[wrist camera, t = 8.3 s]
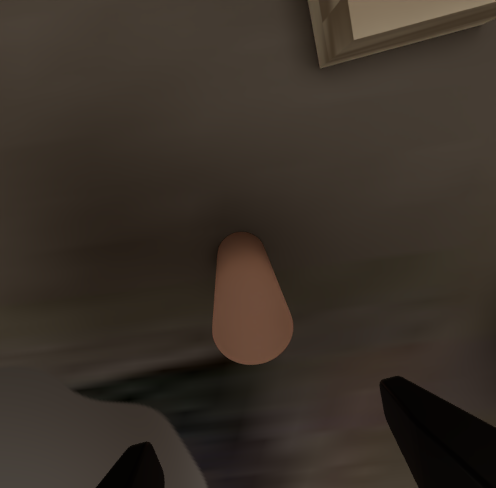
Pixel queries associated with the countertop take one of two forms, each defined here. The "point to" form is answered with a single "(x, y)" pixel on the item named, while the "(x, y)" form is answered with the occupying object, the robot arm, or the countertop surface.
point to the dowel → (248, 303)
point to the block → (388, 24)
